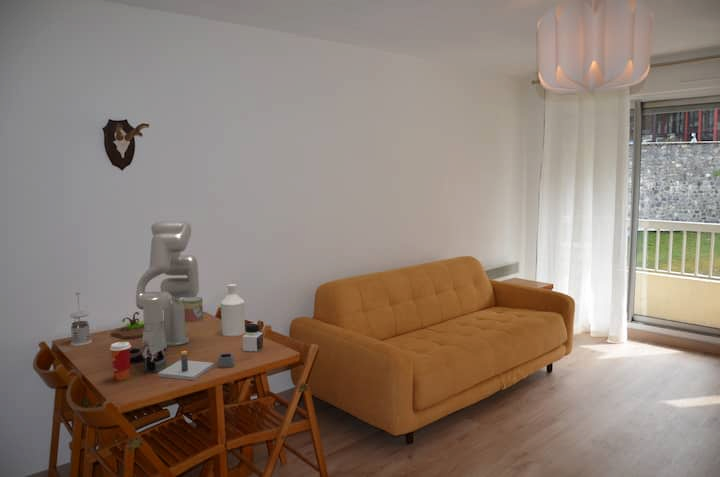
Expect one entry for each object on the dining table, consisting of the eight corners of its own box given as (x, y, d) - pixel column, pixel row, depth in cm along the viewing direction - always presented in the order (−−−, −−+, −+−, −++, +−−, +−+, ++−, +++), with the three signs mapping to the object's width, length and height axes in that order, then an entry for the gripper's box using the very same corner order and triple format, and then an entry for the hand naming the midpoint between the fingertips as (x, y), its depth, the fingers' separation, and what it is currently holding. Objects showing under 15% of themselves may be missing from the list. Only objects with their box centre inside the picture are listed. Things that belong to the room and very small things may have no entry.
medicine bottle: (257, 352, 248) (256, 326, 247) (242, 351, 250) (242, 325, 248) (263, 347, 255) (262, 322, 254) (249, 346, 257) (248, 321, 255)
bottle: (217, 333, 277) (215, 285, 274) (236, 328, 286) (234, 281, 283) (230, 337, 270) (229, 288, 267) (250, 332, 278) (248, 284, 275)
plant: (163, 332, 280) (162, 311, 279) (130, 342, 264) (128, 320, 263) (140, 326, 291) (138, 306, 290) (106, 335, 275) (104, 314, 273)
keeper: (158, 376, 219) (157, 353, 217) (180, 363, 234) (179, 341, 233) (193, 380, 215) (192, 357, 213) (214, 366, 230) (213, 344, 229)
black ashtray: (124, 355, 244) (123, 347, 244) (151, 355, 245) (150, 346, 244) (114, 364, 233) (114, 355, 232) (142, 364, 233) (142, 355, 233)
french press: (72, 346, 256) (69, 295, 253) (66, 341, 265) (62, 291, 261) (95, 342, 262) (91, 292, 259) (88, 337, 271) (85, 288, 268)
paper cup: (115, 374, 221) (113, 341, 219) (135, 374, 221) (133, 340, 220) (108, 382, 213) (106, 347, 211) (128, 381, 213) (126, 347, 212)
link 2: (218, 367, 228) (218, 358, 228) (219, 362, 234) (219, 353, 234) (233, 366, 229) (232, 357, 229) (233, 361, 235) (233, 353, 235)
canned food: (192, 323, 295) (191, 302, 294) (177, 320, 301) (176, 299, 299) (207, 318, 305) (206, 297, 303) (193, 316, 310) (192, 295, 309)
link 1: (145, 371, 225) (144, 361, 224) (154, 366, 230) (153, 357, 230) (157, 372, 223) (157, 363, 223) (166, 367, 229) (166, 358, 228)
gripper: (158, 319, 234) (160, 359, 236) (132, 330, 217) (134, 374, 219) (173, 320, 232) (175, 361, 234) (148, 332, 215) (150, 375, 218)
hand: (155, 367), depth 227 cm, fingers closed on link 1, 6 cm apart
